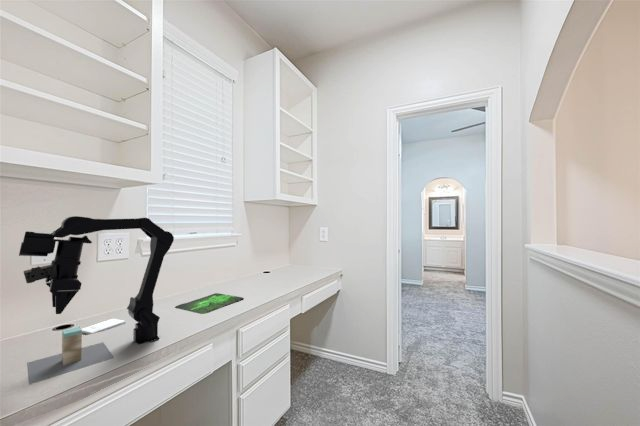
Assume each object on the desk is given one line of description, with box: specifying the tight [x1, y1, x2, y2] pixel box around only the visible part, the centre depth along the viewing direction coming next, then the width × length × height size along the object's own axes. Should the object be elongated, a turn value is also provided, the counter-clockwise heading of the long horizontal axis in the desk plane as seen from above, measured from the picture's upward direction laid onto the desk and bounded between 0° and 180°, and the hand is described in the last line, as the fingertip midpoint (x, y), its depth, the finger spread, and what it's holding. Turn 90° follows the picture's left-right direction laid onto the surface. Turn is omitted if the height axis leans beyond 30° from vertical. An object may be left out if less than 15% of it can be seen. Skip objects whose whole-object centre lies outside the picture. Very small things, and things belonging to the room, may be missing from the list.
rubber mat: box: [27, 342, 115, 385], centre depth 83 cm, size 18×16×1 cm
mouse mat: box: [174, 292, 244, 315], centre depth 141 cm, size 27×22×1 cm
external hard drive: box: [81, 318, 126, 335], centre depth 109 cm, size 2×8×12 cm
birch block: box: [61, 326, 83, 365], centre depth 83 cm, size 4×4×9 cm
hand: (56, 310), depth 81 cm, fingers open, 9 cm apart
